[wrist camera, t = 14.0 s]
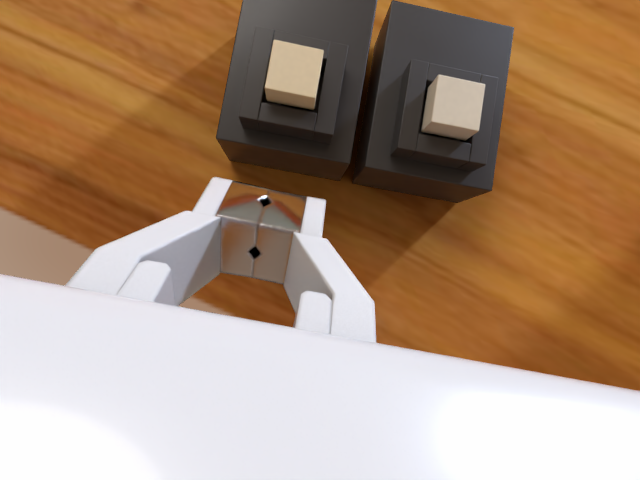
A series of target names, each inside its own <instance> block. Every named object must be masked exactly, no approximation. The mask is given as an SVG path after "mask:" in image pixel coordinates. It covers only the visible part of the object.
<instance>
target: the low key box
mask: <svg viewBox="0 0 640 480" xmlns="http://www.w3.org/2000/svg"><path fill="white" fill-rule="evenodd" d="M513 32H514V27H510V26H505V25H501V24H496V23H492V22H488V21H483V20H479V19H474V18H470V17H465V16H461V15H456V14H452V13H447V12H443V11H438V10H434V9H430V8H425V7H421V6H416V5H412V4H407V3H403V2H398V1H394V0H392V2H391V4H390V7H389V10H388V12H387V15H386V17H385V20H384V23H383V25H382V28H381V30H380V33H379V35H378V38H377V41H376V43H375V47H374V53H373V59H372V66H371V72H370V78H369V84H368V90H367V96H366V102H365V108H364V114H363V120H362V126H361V132H360V138H359V144H358V150H357V156H356V162H355V168H354V174H353V180H352V183H353V184H359V185H364V186H369V187H375V188H380V189H385V190H391V191H396V192H402V193H407V194H412V195H418V196H423V197H428V198H434V199H439V200H444V201H450V202H455V203H458V202H461V201H464V200H467V199H470V198H473V197H475V196H478V195H481V194H484V193H487V192H490V191H492V185H493V178H494V171H495V163H496V156H497V149H498V141H499V134H500V127H501V119H502V112H503V105H504V97H505V90H506V83H507V76H508V68H509V61H510V54H511V46H512V39H513ZM438 75H444V76H449V77H453V78H458V79H463V80H468V81H472V82H477V83H482V84H485V91H484V98H483V105H482V112H481V119H480V126H479V131H478V132H477V133H475V134H474V135H473V136H471V137H470V138H468V139H467V140H460V139H455V138H450V137H445V136H440V135H435V134H430V133H424V132H421V130H422V123H423V116H424V110H425V103H426V97H427V90H428V87H429V86H430V85H431V83H432V82H433V81H434V80H435V78H436V77H437V76H438Z"/></svg>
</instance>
